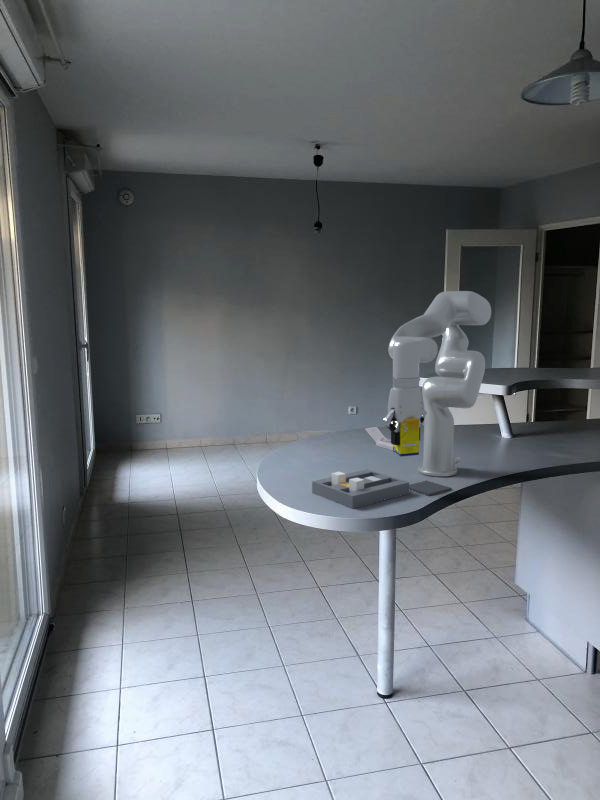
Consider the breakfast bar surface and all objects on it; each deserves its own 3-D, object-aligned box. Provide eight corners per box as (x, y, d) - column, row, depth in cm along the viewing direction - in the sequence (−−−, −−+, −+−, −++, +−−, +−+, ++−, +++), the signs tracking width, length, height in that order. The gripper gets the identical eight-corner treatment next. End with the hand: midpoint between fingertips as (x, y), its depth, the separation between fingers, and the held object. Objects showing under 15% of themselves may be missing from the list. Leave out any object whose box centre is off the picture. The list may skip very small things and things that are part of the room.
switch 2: (356, 489, 180) (357, 477, 180) (364, 492, 178) (364, 479, 177) (349, 491, 179) (349, 479, 178) (356, 494, 176) (356, 481, 176)
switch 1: (339, 483, 187) (339, 471, 186) (345, 485, 184) (345, 473, 184) (331, 485, 185) (331, 473, 184) (338, 487, 183) (338, 475, 182)
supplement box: (392, 451, 187) (392, 415, 185) (411, 450, 188) (411, 414, 186) (400, 456, 181) (400, 419, 179) (419, 455, 182) (419, 418, 180)
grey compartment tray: (367, 480, 198) (367, 469, 198) (408, 493, 184) (409, 481, 184) (312, 492, 185) (312, 481, 185) (352, 508, 171) (352, 495, 171)
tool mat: (426, 482, 196) (426, 480, 196) (451, 489, 188) (451, 487, 188) (403, 488, 190) (403, 486, 190) (428, 496, 182) (428, 494, 182)
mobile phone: (375, 426, 255) (416, 437, 233) (375, 440, 256) (416, 452, 234) (363, 428, 252) (403, 439, 230) (363, 442, 253) (403, 455, 231)
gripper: (417, 378, 189) (417, 435, 192) (374, 384, 179) (374, 444, 182) (436, 381, 183) (435, 439, 186) (392, 388, 173) (392, 450, 176)
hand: (405, 441), depth 184 cm, fingers closed on supplement box, 7 cm apart
